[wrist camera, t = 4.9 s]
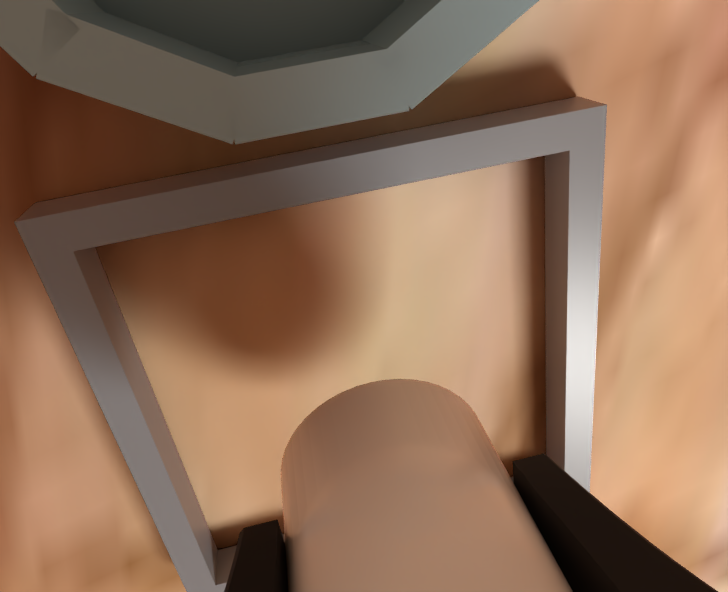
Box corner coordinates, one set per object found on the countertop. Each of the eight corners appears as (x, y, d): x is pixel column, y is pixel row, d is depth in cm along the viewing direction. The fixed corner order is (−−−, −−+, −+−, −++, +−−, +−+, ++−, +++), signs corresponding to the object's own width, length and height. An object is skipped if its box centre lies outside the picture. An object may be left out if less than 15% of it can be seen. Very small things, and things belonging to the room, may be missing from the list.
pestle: (304, 559, 13) (339, 933, 8) (258, 408, 11) (264, 778, 6) (489, 512, 14) (643, 838, 8) (478, 356, 11) (674, 660, 6)
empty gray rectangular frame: (198, 573, 18) (195, 610, 17) (35, 202, 12) (14, 221, 11) (569, 480, 19) (588, 509, 18) (578, 96, 13) (607, 104, 12)
